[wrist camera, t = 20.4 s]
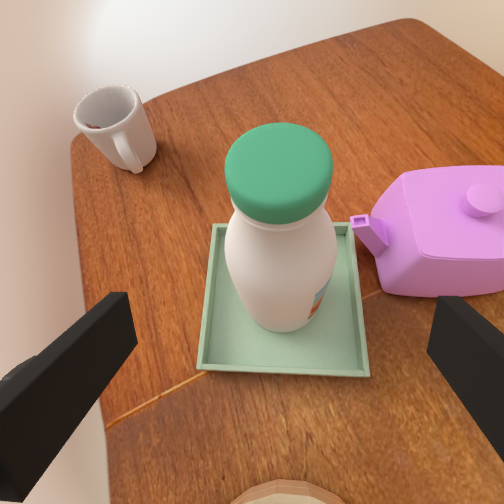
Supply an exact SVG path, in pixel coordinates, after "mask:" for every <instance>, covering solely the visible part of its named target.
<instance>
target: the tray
mask: <svg viewBox="0 0 504 504" xmlns="http://www.w3.org/2000/svg"><path fill="white" fill-rule="evenodd" d="M332 223H333V226H334V229H335V233H336V239H337V256H336V263H335V266H334V269H333V273H332V276H331V279H330V281H329V284H328V286H327V288H326V291H325V293H324V296H323V298H322V300H321V302H320V305H319V307H318V309H317V311H316V313H315V315H314V316H313V318H312V319H311V320H310V321H309V322H308V323H307V324H306V325H305V326H303V327H302V328H300V329H298V330H295V331H292V332H287V333H277V332H272V331H269V330H266V329H264V328H262V327H261V326H259V325H258V324H256V323H255V322H254V321H253V320H252V318H251V317H250V316H249V314H248V313H247V311H246V309H245V307H244V305H243V303H242V301H241V299H240V296H239V294H238V292H237V290H236V288H235V285H234V283H233V281H232V279H231V276H230V273H229V270H228V267H227V264H226V258H225V250H224V248H225V235H226V231H227V227H228V224H213V229H212V237H211V246H210V254H209V263H208V272H207V280H206V289H205V297H204V306H203V314H202V323H201V332H200V340H199V349H198V357H197V366H196V369H198V370H203V371H223V372H245V373H268V374H290V375H312V376H335V377H357V378H365V377H370V370H369V361H368V352H367V344H366V335H365V326H364V318H363V309H362V300H361V292H360V283H359V274H358V266H357V257H356V248H355V240H354V231H353V230H352V227H351V222H332Z"/></svg>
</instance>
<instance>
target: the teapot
mask: <svg viewBox="0 0 504 504" xmlns="http://www.w3.org/2000/svg"><path fill="white" fill-rule="evenodd" d="M350 221H351V227H352V230H353V231H354V233H355V234H356V235H357V236H358V237H359V239H360V240H361V241H362V242H363V243H364V245H365V246H366V247H367V248H368V249H369V251H370V252H371V253H372V254H373V255H374V257H375V262H376V267H377V272H378V277H379V281H380V285H381V287H382V290H383V291H384V292H387V293H390V294H395V295H403V296H416V297H438V296H459V297H462V296H473V295H482V294H489V293H495V292H499V291H502V290H504V166H452V167H439V168H429V169H421V170H415V171H409V172H405V173H403V174H401V175H400V176H399V177H398V178H397V179H396V180H395V181H394V182H393V183H392V184H391V186H390V187H389V188H388V189H387V190H386V191H385V192H384V193H383V195H382V196H381V197H380V198H379V200H378V201H377V203H376V204H375V206H374V208H373V209H372V211H371V216H368V214H364V215H357V216H350Z"/></svg>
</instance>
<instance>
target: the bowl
mask: <svg viewBox="0 0 504 504" xmlns="http://www.w3.org/2000/svg"><path fill="white" fill-rule="evenodd" d="M230 504H346V503H345V502H344V501H343V500H342V499H341V498H340V497H339V496H337V495H335V494H333V493H331V492H329V491H327V490H325V489H323V488H321V487H318V486H316V485H314V484H312V483H310V482H307V481H298V480H286V479H276V480H273V481H270V482H266V483H263V484H260V485H257V486H254V487H251V488H250V489H247V490H246V491H245V492H244V493H242V494H241V495H240V496H239V497H237V498H236V499H235V500H234V501H232V502H231V503H230Z"/></svg>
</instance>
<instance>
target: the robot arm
mask: <svg viewBox="0 0 504 504" xmlns="http://www.w3.org/2000/svg"><path fill="white" fill-rule="evenodd" d="M137 344H138V342H137V337H136V332H135V327H134V323H133V318H132V313H131V309H130V304H129V299H128V294H127V292H110V293H109V294H108V295H107V296H106V297H104V298H103V299H102V300H101V301H100V302H99V303H98V304H96V305H95V306H94V307H93V308H92V309H91V310H89V311H88V312H87V313H86V314H85V315H84V316H83V317H81V318H80V319H79V320H78V321H77V322H75V323H74V324H73V325H72V326H71V327H70V328H69V329H67V330H66V331H65V332H64V333H63V334H62V335H61V336H59V337H58V338H57V339H56V340H55V341H53V342H52V343H51V344H50V345H49V346H48V347H47V348H45V349H44V350H43V351H42V352H41V353H40V354H38V355H37V356H33V357H32V358H30V359H28V360H26V361H24V362H23V363H21V364H19V365H18V366H16V367H15V368H14V369H12V370H11V371H10V372H9V373H8V374H7V375H5V376H4V377H3V378H2V380H1V381H0V501H10V502H21V503H22V502H23V501H24V500H25V498H26V497H27V495H28V494H29V492H30V491H31V490H32V489H33V487H34V486H35V484H36V483H37V482H38V480H39V479H40V477H41V476H42V475H43V473H44V472H45V471H46V469H47V468H48V466H49V465H50V464H51V462H52V461H53V460H54V458H55V457H56V455H57V454H58V453H59V451H60V450H61V449H62V447H63V446H64V444H65V443H66V441H67V440H68V439H69V438H70V436H71V435H72V433H73V432H74V430H75V429H76V428H77V426H78V425H79V424H80V422H81V421H82V419H83V418H84V417H85V415H86V414H87V413H88V411H89V410H90V409H91V407H92V406H93V404H94V403H95V402H96V400H97V399H98V397H99V396H100V395H101V393H102V392H103V391H104V389H105V388H106V386H107V385H108V384H109V382H110V381H111V380H112V378H113V377H114V375H115V374H116V373H117V371H118V370H119V369H120V367H121V366H122V364H123V363H124V362H125V360H126V359H127V357H128V356H129V355H130V353H131V352H132V351H133V349H134V348H135V346H136V345H137ZM427 353H428V355H429V356H430V357H431V359H432V360H433V362H434V363H435V365H436V366H437V367H438V369H439V370H440V372H441V373H442V375H443V376H444V378H445V379H446V380H447V382H448V383H449V385H450V386H451V388H452V389H453V390H454V392H455V393H456V395H457V396H458V398H459V399H460V400H461V402H462V403H463V405H464V406H465V408H466V409H467V410H468V412H469V413H470V415H471V416H472V418H473V419H474V420H475V422H476V423H477V425H478V426H479V428H480V429H481V430H482V432H483V433H484V435H485V436H486V438H487V439H488V441H489V442H490V443H491V445H492V446H493V448H494V449H495V451H496V452H497V453H498V455H499V456H500V458H501V459H502V461H503V462H504V334H503V333H502V332H500V331H499V330H498V329H497V328H496V327H495V326H493V325H492V324H491V323H490V322H489V321H488V320H486V319H485V318H484V317H483V316H482V315H481V314H479V313H478V312H477V311H476V310H475V309H474V308H472V307H471V306H470V305H469V304H468V303H466V302H465V301H464V300H463V299H462V298H461V297H459V296H438V299H437V304H436V309H435V313H434V318H433V323H432V328H431V333H430V338H429V343H428V348H427Z"/></svg>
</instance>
